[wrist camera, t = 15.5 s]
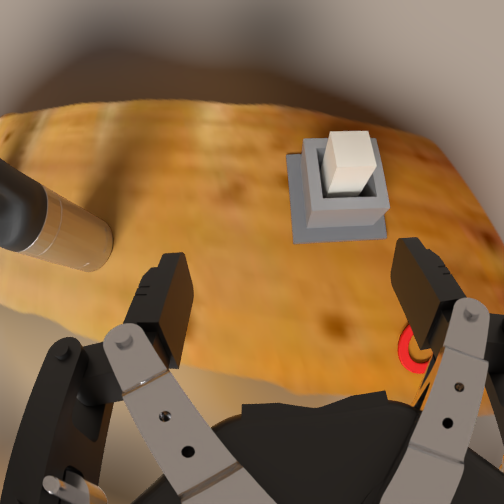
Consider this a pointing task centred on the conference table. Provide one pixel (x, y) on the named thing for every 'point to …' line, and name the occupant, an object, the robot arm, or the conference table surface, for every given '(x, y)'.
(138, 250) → the conference table surface
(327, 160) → the white square block
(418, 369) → the tow hook
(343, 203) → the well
